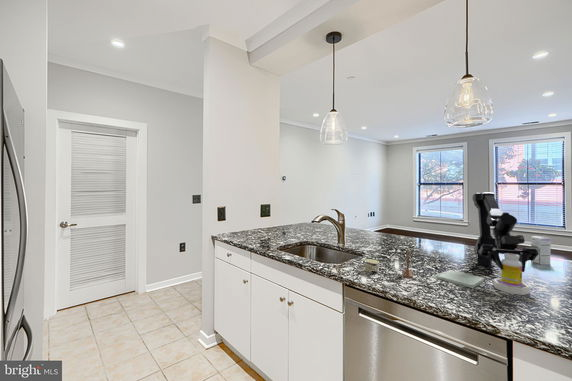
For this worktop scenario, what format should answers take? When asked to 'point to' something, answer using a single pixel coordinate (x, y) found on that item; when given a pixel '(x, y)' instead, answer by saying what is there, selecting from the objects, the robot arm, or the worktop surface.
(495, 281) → the white flat octagonal ring
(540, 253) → the syrup box
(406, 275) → the gingerbread man figurine
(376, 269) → the stacked layers on plate
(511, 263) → the supplement bottle
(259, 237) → the worktop surface
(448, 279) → the sage board
